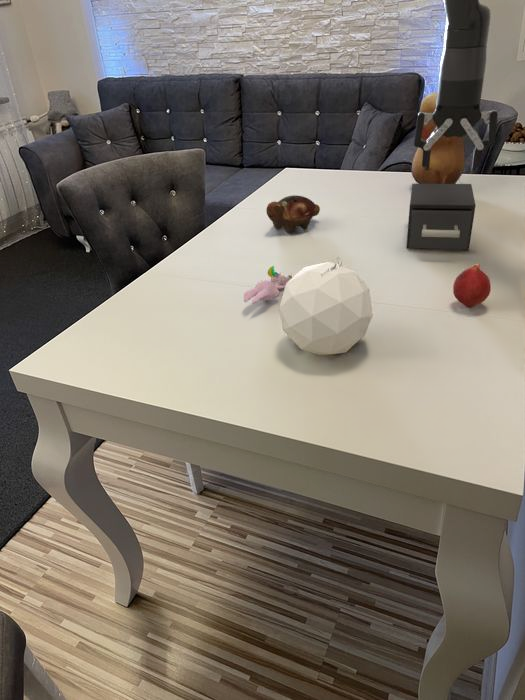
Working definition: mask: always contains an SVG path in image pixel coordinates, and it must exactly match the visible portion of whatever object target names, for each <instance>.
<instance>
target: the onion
mask: <svg viewBox="0 0 525 700" xmlns="http://www.w3.org/2000/svg"><path fill="white" fill-rule="evenodd" d="M480 268H481V265H480V264H479V263H475V264H473V265H472V266H470V267H468V268H466V269H464V270H463V271H462V272H461V273H459V274H458V275H457V276H456V278H455V280H454V282H453V285H452V286H453V288H452V290H453V291H452V292H453V296H454V298H455V299H456V300H457V301H458V302H459V303H460V304H461V305H463V306H465V307H466V308H469V309H472V308H474V307H475V306H478V305H480V304H481V303H483V302H485V301H486V300H487V299H488V297H489V296H490V293H491V289H492V287H491V286H492V285H491V280H490V278H489V276H488V275H487V273H486V272H485V271H483V270H482V269H480Z"/></svg>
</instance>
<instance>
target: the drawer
mask: <svg viewBox="0 0 525 700" xmlns="http://www.w3.org/2000/svg"><path fill="white" fill-rule="evenodd" d="M471 218H472V211H468V209H427V208H416V210H412V220H411V232H410V244H409V248H430V249H429V250H433V249H460V250H459V251H463V250H467V245H468V238H469V231H470V225H471Z"/></svg>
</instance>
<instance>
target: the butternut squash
mask: <svg viewBox="0 0 525 700" xmlns="http://www.w3.org/2000/svg"><path fill="white" fill-rule="evenodd" d="M437 94H438V90H436V91H434V92H432V93H429V94H428V95H426V96H425V97H424V98H423V99H422V101H421V102H420V108H419V112H420V111H424V113H434V111H435V109H436V104H437ZM436 128H437V126H436V125H435V123H434V121H433V119H431V120H429V122H428V124H427V125H423V131H422V138H421V139H422V140H424V141H426V140H427V139H428V138H429V137H430V135H431V134H432V132H433V131H434V130H435V129H436ZM464 137H465V136H463V137H456V136H453V137H445V136H443V135H442V136H441V137H440V138H439V139H438V140H437V141H436V142H435V143H434V144H433V146H432V147H431V154H430V164H429V170H425V167H423V166H422V158H423V150H422V149H421V148H419V147H417V149H416V151H415V154H414V155H413V159H412V163H411V176H412V178H413V179H414V181H415V182H416V184H457V183H458V181H459V180H460V179H461V177H462V175H463V172H464V169H465V165H466V159H465V149H464V139H465V138H464Z"/></svg>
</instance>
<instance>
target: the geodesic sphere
mask: <svg viewBox="0 0 525 700" xmlns="http://www.w3.org/2000/svg"><path fill="white" fill-rule="evenodd" d="M278 309H279V310H278V311H279V315H280V316H279V317H280V323H281V328H282V331H283V332H284V334H286V335H287V336H288V337H289V339H290V340H292V342H293V343H294V344H295V345H296V346H297V347H298V348H299V349H300V350H302V351H306V352H309V353H311V354H316V355H318V356H328V355H330V356H331V355H337V354H344V353H347V352H348V351H349V350H350V349H351V348H353V346H354V345H356V344H357V343H358V342H359V341H360V340H361V339H362V338H363V337H364V336H365V335H366V332H367V330H368V327H369V325H370V323H371V321H372V319H373V317H374V312H373V307H372V300H371V291H370V288H369V287H368V285H367V284H366V283H365V282H364V281H363V280H362V279H361V277H360V276H359V275H358V274H357V273H356V271H355V270H352V269H349V268H347V267H345V266H342V261H340V257H337V258H336V263H335V262H332V261H327V262H322V263H317V264H312V265H307V266H304V267H303V268H302V269H300V271H298V272H297V273H296V274H295V275H294V276H292V279H290V280H289V281H288V282H287V283H286V286H285V288H283V293H282V297H281V300H280V304H279V306H278Z"/></svg>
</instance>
